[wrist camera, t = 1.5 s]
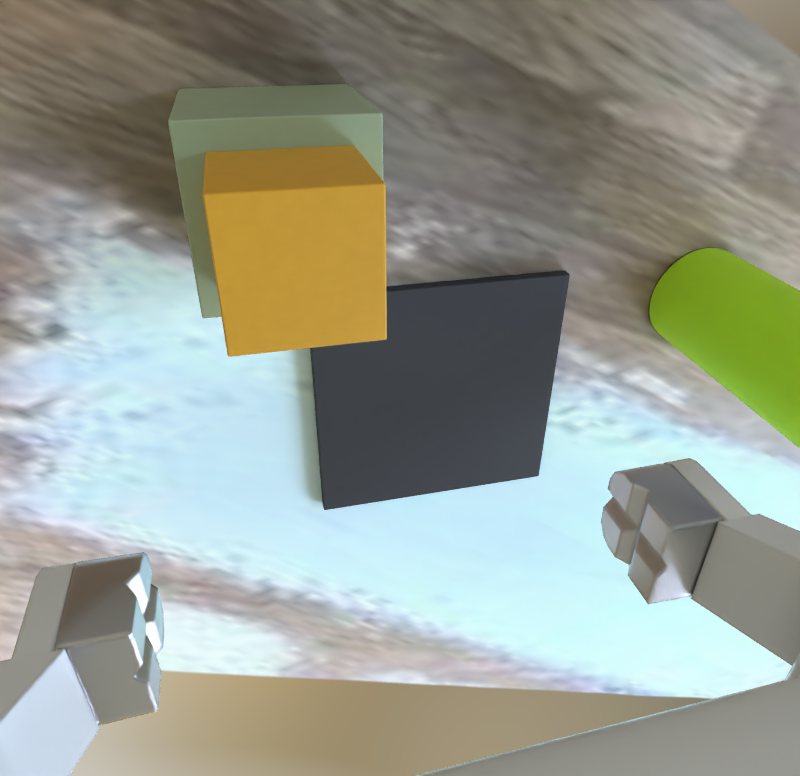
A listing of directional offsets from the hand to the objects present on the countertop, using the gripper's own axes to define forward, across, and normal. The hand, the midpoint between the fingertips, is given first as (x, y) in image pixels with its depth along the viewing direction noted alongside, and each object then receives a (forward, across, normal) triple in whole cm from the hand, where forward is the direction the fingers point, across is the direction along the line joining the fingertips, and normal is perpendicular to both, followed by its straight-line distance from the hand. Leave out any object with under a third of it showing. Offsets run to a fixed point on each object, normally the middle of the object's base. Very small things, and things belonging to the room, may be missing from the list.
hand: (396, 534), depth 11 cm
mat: (+22, -8, +12) cm, 26 cm away
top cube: (+15, 0, -1) cm, 15 cm away
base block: (+22, 0, -1) cm, 22 cm away
